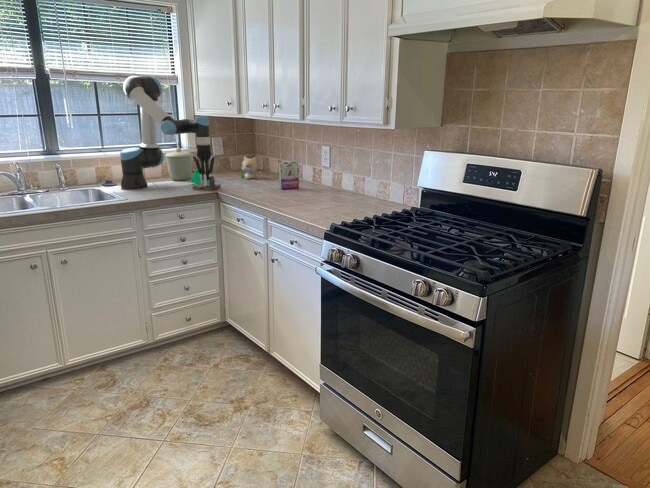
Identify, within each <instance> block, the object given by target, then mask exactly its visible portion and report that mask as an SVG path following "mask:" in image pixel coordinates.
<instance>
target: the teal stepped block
mask: <svg viewBox="0 0 650 488" xmlns="http://www.w3.org/2000/svg"><path fill="white" fill-rule="evenodd" d="M215 184H216V182H215V176H214V175H212V174H209V180H208V185H207V186H210V187H215ZM200 185H203V186H204V180H203V179H202V175H200Z"/></svg>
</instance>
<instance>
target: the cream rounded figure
mask: <svg viewBox="0 0 650 488" xmlns="http://www.w3.org/2000/svg"><path fill="white" fill-rule="evenodd" d="M240 167H241V170H240V172H239V175H240V178H241V179H243V178H245V180H249V179H250V180H252V179H255V178H257V177H259V176H261V175H262V171H259V172H258V173H256V175H255V172H256V171H257V169H258V163H257V156H254V157H252V158H248V157H247V156H245V155H243V161H242V162H241V166H240ZM242 172H243V173H245V174H244V175H243V174H242Z"/></svg>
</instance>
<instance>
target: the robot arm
mask: <svg viewBox="0 0 650 488" xmlns="http://www.w3.org/2000/svg"><path fill="white" fill-rule="evenodd" d="M122 87H123V92H124V94H125V95H126V97H127V98H128V99H129V100H130V101H131V102H133V103H136V104H137V105H138V106H139V107H140V126H141V127H140V128H141V132H140V133H141V143H140V144H139V147H128V148H125V149H122V150H120V157H119V158H120V163H121V172H122V177H121V181H120V182H121V183H120V188H121V190H128V191H131V190H143V189H147V188H148V182H147V180H146V178H145V175H144V169H151V168H156V167H159V166H161V165H162V164H163V162H164V160H165V159H164V158H165V156H164V155H165V154H164V152H163V150H162V148H160V145H159V143H157V140H158V139H157V138H158V137H157V124H158V125H160V131H161V132H162V134H164V135H165V136H166V135H171V136H172V135H181V134H195V140H196V144H197V145H196V150H197V151H196V155H195V156H194V155H193V156H192V160H194V162H195V165H196V169H198V172H199V173H201V174H202V179H203V180H204V186H207V185H208V180H209V175H211V174H212V173H213V170H214V165H215V160H216V158H217V157H216V156H214V155H213V154H212V151H211V149H212V148H211V134H210V119H209V117H208V116H204V115H203V116H201V115H199V116H198V115H197V116H195V117H194V119H188V118H185V119H183V118H182V119H174V118H173V117H172V116H171V115H170V114H169V113H167V111H165V110H164V109H163V108H162V107H161V106H160V105H159V104H158V102H159V97H161V95H162V94H163V87H162V85H161V82H160V80H159V79H158V78H156V77H154V76H147V75H146V76H145V75H144V76H141V75H131V76H128V77H127V78H126V79H125V80H124V82H123V85H122ZM199 160H200V161H199ZM209 162H210V163H209ZM205 172H206V174H205Z"/></svg>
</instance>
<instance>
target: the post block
mask: <svg viewBox="0 0 650 488" xmlns="http://www.w3.org/2000/svg"><path fill="white" fill-rule="evenodd" d="M205 174H206V171H205ZM221 185H222V184H220V183H219V184H218V183H215V187H210V186H203V185H200V184H197V185H195V184H194V186H192V191H212V192H213V191H214V192H215V191H217V190H219V189H221V188H222V186H221Z"/></svg>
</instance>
